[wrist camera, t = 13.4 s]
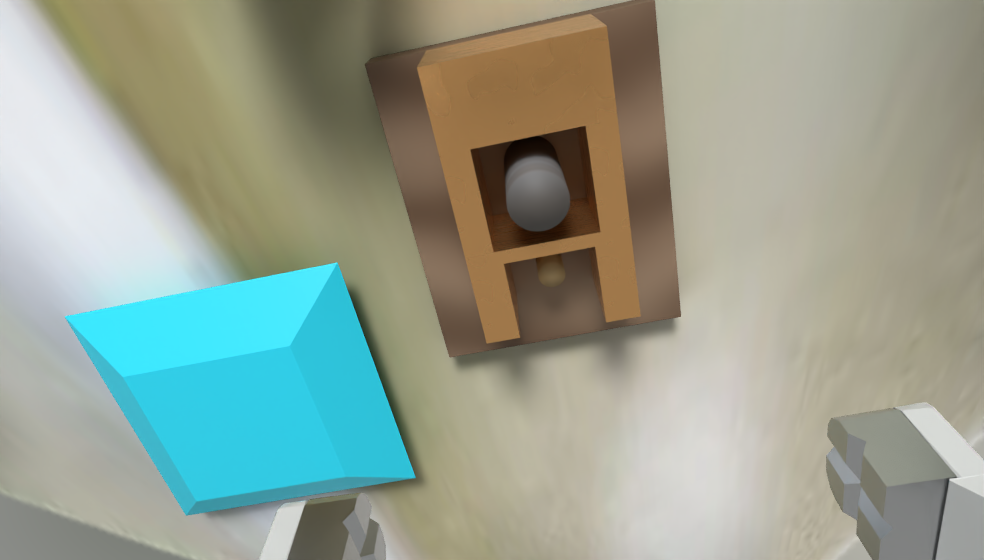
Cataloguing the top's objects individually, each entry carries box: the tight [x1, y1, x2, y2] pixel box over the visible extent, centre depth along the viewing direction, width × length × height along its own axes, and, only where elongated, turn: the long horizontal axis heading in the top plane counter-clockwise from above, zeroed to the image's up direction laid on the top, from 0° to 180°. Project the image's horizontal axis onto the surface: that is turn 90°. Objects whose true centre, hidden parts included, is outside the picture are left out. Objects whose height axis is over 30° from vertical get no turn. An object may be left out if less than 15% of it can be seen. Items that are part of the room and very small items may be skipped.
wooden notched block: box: [417, 14, 641, 343], centre depth 27 cm, size 12×7×4 cm, turn 12°
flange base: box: [365, 0, 681, 357], centre depth 28 cm, size 15×12×6 cm
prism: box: [65, 262, 416, 515], centre depth 35 cm, size 14×14×5 cm
